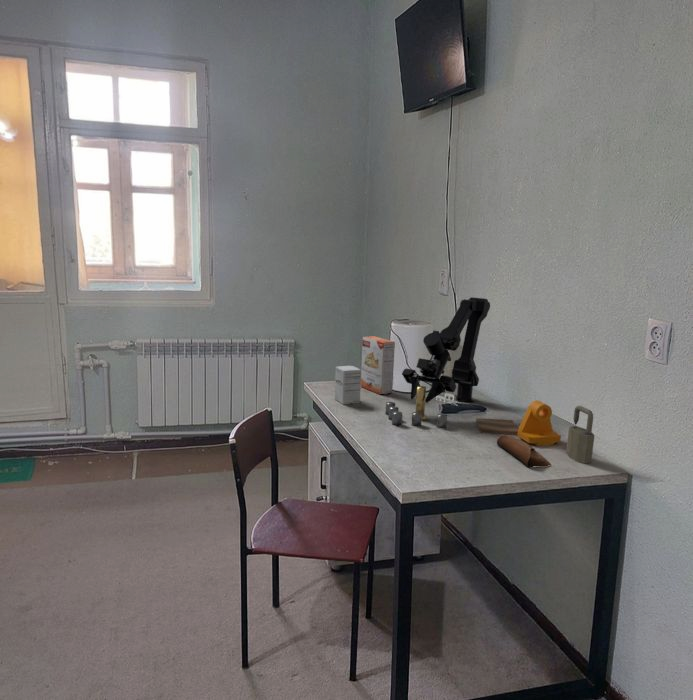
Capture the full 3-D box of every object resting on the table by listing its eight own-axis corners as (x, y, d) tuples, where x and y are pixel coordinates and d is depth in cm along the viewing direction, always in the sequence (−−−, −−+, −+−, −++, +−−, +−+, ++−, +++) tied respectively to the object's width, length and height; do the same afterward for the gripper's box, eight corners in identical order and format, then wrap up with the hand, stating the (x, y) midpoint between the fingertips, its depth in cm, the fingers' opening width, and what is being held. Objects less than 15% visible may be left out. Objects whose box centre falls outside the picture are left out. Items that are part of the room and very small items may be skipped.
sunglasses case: (555, 466, 161) (546, 447, 159) (534, 480, 160) (525, 460, 158) (521, 443, 178) (512, 426, 176) (502, 456, 177) (493, 438, 176)
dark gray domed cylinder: (411, 423, 194) (412, 411, 194) (421, 423, 194) (421, 412, 193) (411, 426, 191) (412, 414, 190) (421, 426, 191) (422, 415, 190)
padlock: (575, 452, 172) (581, 403, 170) (593, 463, 165) (599, 411, 162) (563, 453, 171) (569, 403, 169) (581, 464, 164) (587, 412, 161)
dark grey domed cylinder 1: (385, 412, 205) (386, 401, 204) (394, 413, 205) (395, 402, 204) (385, 415, 202) (386, 404, 201) (394, 415, 202) (395, 404, 201)
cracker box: (359, 387, 238) (362, 336, 234) (371, 385, 242) (374, 335, 238) (380, 395, 227) (383, 342, 223) (392, 393, 230) (395, 341, 226)
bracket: (529, 446, 177) (533, 407, 175) (517, 438, 184) (520, 400, 181) (561, 444, 179) (565, 406, 177) (548, 436, 186) (552, 400, 184)
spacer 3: (391, 422, 194) (392, 410, 193) (401, 423, 194) (402, 411, 193) (391, 425, 191) (392, 413, 190) (401, 426, 191) (402, 414, 190)
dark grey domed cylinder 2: (388, 417, 200) (389, 406, 199) (398, 418, 199) (398, 406, 199) (388, 420, 197) (388, 408, 196) (397, 420, 196) (398, 409, 196)
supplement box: (333, 399, 219) (335, 366, 217) (351, 397, 222) (353, 365, 220) (342, 404, 213) (343, 370, 210) (360, 403, 216) (362, 369, 213)
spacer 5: (436, 425, 193) (437, 413, 192) (446, 425, 193) (446, 414, 192) (436, 428, 190) (437, 416, 189) (446, 429, 190) (447, 417, 189)
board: (475, 420, 199) (476, 418, 199) (512, 423, 198) (512, 420, 198) (480, 432, 188) (481, 429, 187) (519, 434, 187) (519, 431, 186)
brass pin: (412, 415, 202) (414, 384, 200) (426, 416, 202) (428, 385, 200) (412, 420, 198) (414, 388, 196) (427, 421, 197) (429, 389, 195)
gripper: (406, 345, 204) (386, 381, 198) (454, 353, 193) (435, 392, 186) (416, 364, 212) (398, 400, 205) (463, 373, 201) (446, 411, 194)
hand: (418, 400), depth 198 cm, fingers open, 5 cm apart
